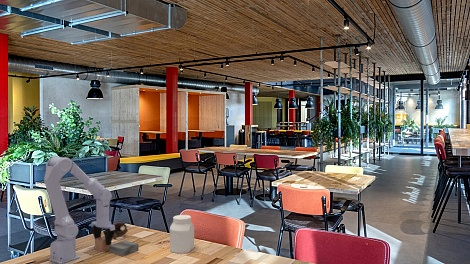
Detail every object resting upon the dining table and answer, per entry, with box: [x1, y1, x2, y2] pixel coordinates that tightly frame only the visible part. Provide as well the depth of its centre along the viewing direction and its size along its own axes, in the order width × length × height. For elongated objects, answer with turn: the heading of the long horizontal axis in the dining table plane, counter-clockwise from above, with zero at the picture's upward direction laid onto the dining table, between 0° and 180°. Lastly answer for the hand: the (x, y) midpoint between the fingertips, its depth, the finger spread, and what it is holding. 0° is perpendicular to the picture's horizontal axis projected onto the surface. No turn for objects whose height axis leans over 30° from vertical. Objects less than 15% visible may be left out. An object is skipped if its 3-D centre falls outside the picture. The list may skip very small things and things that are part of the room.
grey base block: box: [108, 240, 139, 257], centre depth 167 cm, size 9×9×4 cm
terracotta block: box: [94, 235, 109, 252], centre depth 171 cm, size 5×5×5 cm
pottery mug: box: [104, 222, 129, 240], centre depth 189 cm, size 12×10×8 cm
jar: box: [169, 214, 195, 254], centre depth 170 cm, size 12×10×15 cm
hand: (103, 243), depth 171 cm, fingers open, 7 cm apart
